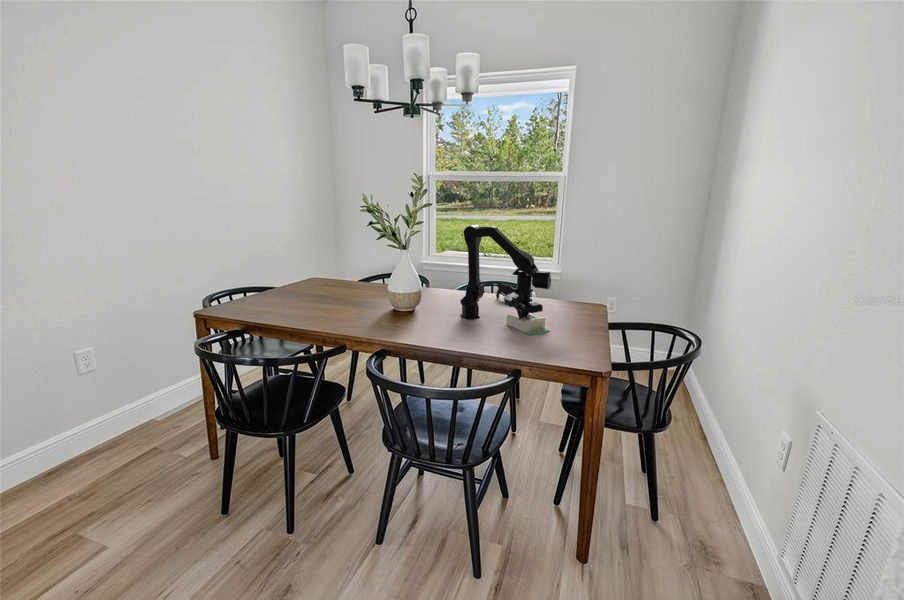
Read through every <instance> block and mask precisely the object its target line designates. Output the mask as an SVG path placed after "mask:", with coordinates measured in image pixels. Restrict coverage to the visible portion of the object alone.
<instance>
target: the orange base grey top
mask: <svg viewBox="0 0 904 600" xmlns="http://www.w3.org/2000/svg"><path fill="white" fill-rule="evenodd" d="M529 319H533V317H530V316H528V317H524V318H522V319H521V320H523V321H525V320H529Z"/></svg>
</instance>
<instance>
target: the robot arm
mask: <svg viewBox="0 0 904 600" xmlns="http://www.w3.org/2000/svg"><path fill="white" fill-rule="evenodd" d="M463 237H464V242H465V244H466V247H467V254H468V255H467V257H468V260H467V261H468V262H467V263H468V283H467V286H466V287H465V288H466V289H465V295H464V296H463V297H462V298H461V299H460V301H459V302H460V304H461V314H459V315H460V317H462V318H464V319H465V320H473V319H479V318H481V316H479V313H480V312H479V311H480V307H479V302H480V299H482V298H483V296H484V294H485V293H486V291H485V283H482V282H481V280H480V279H481V278H480V275H481V274H480V245H481V242H482V239H483V238H484V237H490V238H491V239H492V240H493V242H495V243H496V244H497V246H499V247H500V248H501V249H502V250H503V251H504V252H505V253H507V254H508V256H509V257H510V258H511V260H512V262H513V264H514V265H515V267H516V270H515V271H514V272H512V273H511V274H512V275H513V276H516V287H514V292H513V293H511V294H509V295H506V296H503V301H504V304H505V306H508V307H510V308H514V309H515V310H516V312H517V316H518V318H519V319H522V318H524V317H527V316H528V314H529V313H531V314H536V313H540V312H544V311H543V307H544V306H543V304H541V303H538V302H534V301H533V299H532V298H531V294H532V292H534V289H533V288H535V289H542V290H550V288H551V286H552V278H551V277H552V276H551V272H550V271H539V268H538V267H537V265H536V264H535V258H534V257H533V256H532V255H531V254H529V253H528V252H526V251H525V250H522V249H520V248H519V247H518V246H516V244H515V243H514V242H512V240H510V239H509V238H508V237H507V236H506V235H505V234H504V233H503V232H502V231H501V230H500V229H499V227H498V226H497V225H496V226H495V225H492V226H480V225H479V224H473V225H468V226H466V227H465V229H463ZM532 287H533V288H532Z"/></svg>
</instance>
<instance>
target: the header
mask: <svg viewBox="0 0 904 600" xmlns="http://www.w3.org/2000/svg"><path fill="white" fill-rule="evenodd" d="M528 316H530V317H533V319H529V320H525V321H523V320H521V319H519V317H517V316H515V315H510V314H507V315H506V326H510V327H513V328H514V329H516V330H518V331H520V330H521V332H522V333H524V334H526V335H527V336H529V335H530V336H536V335H539V334H545V333H548V332H549V333H550V331H551V330H550V329H549V328H546V327H545V326H546V317H544V316H540V317H539V316H537V315H534V314H533V313H529V314H528ZM528 316H527V317H528Z"/></svg>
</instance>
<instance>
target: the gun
mask: <svg viewBox="0 0 904 600" xmlns="http://www.w3.org/2000/svg"><path fill="white" fill-rule="evenodd" d="M496 285H497V288H498V289H497V291H496V295H495V297H496V300H498V298H499V299H500V295H501V296H503V297H505V296H506V295H509V294H511V293H513V292H514V289H515V287H513V286H512V285H510V284H507V283H505V282H504V281H499V282H498V283H497V284H496Z"/></svg>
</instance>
